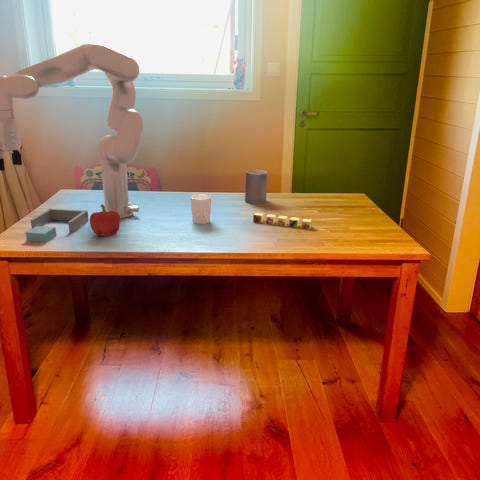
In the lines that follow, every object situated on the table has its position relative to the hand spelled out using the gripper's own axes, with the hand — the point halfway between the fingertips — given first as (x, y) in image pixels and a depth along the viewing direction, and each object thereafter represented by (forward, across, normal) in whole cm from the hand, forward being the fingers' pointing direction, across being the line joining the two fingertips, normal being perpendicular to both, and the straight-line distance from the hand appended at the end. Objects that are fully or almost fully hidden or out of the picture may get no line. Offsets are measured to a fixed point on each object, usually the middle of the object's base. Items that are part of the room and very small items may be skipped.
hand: (9, 167), depth 160 cm
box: (+24, +12, -9) cm, 28 cm away
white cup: (+24, +28, -60) cm, 70 cm away
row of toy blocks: (+24, +30, -92) cm, 99 cm away
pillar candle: (+23, +62, -77) cm, 102 cm away
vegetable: (+24, +7, -30) cm, 39 cm away
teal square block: (+24, -2, -10) cm, 26 cm away
